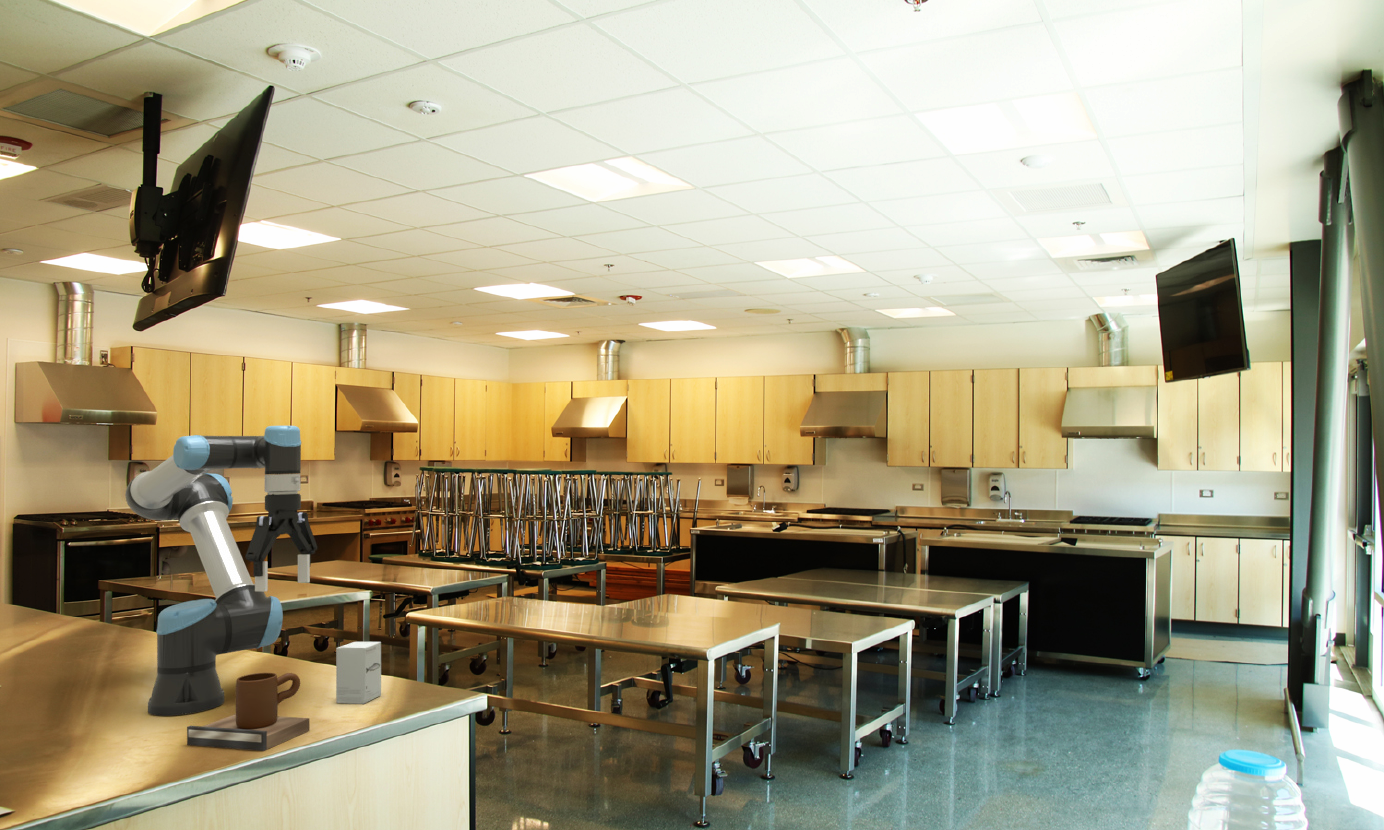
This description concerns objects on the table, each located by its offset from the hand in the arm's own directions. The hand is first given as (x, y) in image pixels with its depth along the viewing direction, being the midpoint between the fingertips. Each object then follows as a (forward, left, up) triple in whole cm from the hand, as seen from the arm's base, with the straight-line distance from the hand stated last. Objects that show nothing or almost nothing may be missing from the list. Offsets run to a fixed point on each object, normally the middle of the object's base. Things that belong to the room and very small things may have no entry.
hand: (283, 586), depth 203 cm
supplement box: (+14, +8, -27) cm, 31 cm away
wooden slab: (+10, -21, -27) cm, 35 cm away
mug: (+12, -19, -24) cm, 33 cm away
